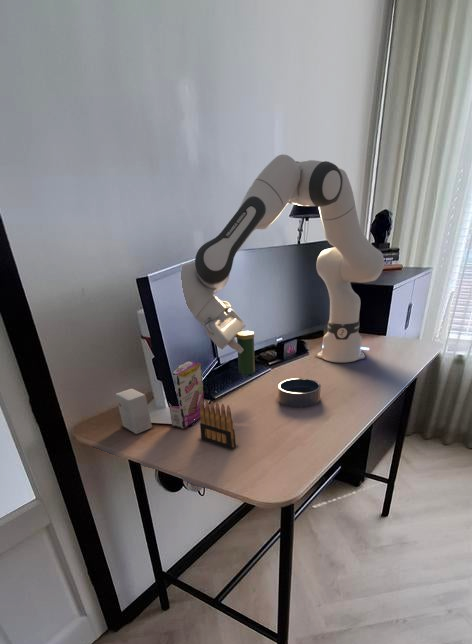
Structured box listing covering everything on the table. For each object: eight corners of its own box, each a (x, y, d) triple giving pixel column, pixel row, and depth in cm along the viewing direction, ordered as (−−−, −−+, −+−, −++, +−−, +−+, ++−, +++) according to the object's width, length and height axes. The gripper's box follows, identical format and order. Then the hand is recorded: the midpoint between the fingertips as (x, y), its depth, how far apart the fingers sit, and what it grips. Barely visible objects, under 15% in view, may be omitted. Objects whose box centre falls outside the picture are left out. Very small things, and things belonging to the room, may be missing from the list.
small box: (152, 428, 118) (146, 394, 113) (136, 434, 115) (128, 400, 110) (138, 420, 124) (132, 387, 118) (122, 426, 121) (114, 393, 115)
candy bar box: (185, 429, 116) (177, 374, 107) (171, 426, 119) (163, 372, 110) (207, 414, 124) (201, 362, 115) (194, 412, 126) (187, 360, 117)
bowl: (282, 391, 136) (282, 377, 134) (321, 393, 133) (322, 379, 130) (274, 407, 126) (274, 392, 123) (317, 410, 123) (318, 394, 120)
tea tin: (240, 368, 132) (239, 330, 125) (256, 369, 130) (255, 331, 124) (236, 374, 128) (234, 335, 121) (252, 374, 126) (251, 335, 119)
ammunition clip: (201, 439, 111) (196, 398, 104) (205, 437, 112) (200, 396, 105) (231, 449, 105) (228, 407, 99) (236, 446, 106) (233, 404, 100)
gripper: (207, 314, 112) (243, 351, 115) (229, 300, 128) (259, 332, 131) (194, 331, 116) (229, 366, 119) (216, 315, 132) (246, 346, 135)
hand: (245, 348), depth 125 cm, fingers closed on tea tin, 5 cm apart
